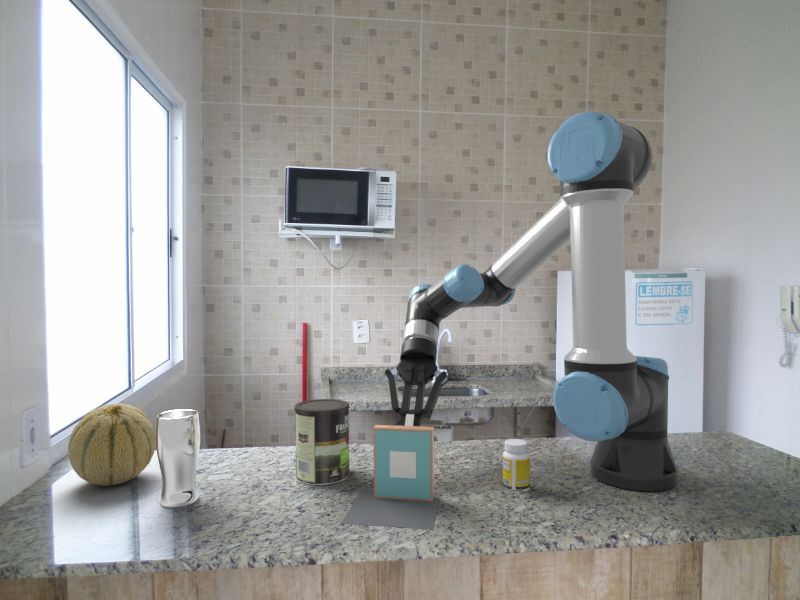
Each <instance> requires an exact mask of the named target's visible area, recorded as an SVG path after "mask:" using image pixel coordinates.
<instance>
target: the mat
mask: <svg viewBox="0 0 800 600" xmlns="http://www.w3.org/2000/svg"><path fill="white" fill-rule="evenodd" d="M441 494H442V492H438V491H434V499H433V501H418V500H402V499H385V498H374V488H367V487H363V488H361V490H360V491H359V493H358V494H357V496H356V498H355V499H354V501H353V502H352V504H351V505H350V507H349V509H348V511H347V512H346V514H345V516H344V517H343V519H342V520H341V522H340V524H343V525H361V526H374V527H375V526H376V527H390V528H404V529H417V530H418V529H419V530H421V529H422V530H431V531H433V529H434V525H435V521H436V518H437V517H436V516H437V512H438V508H439V504H440V499H441V496H442V495H441Z"/></svg>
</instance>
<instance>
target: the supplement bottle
mask: <svg viewBox="0 0 800 600" xmlns="http://www.w3.org/2000/svg"><path fill="white" fill-rule="evenodd" d="M528 448H529V447H528V441H527V440H525V439H519V438H508V439H506V440H504V451H503V452H502V485H503V488H506V489H509V490H513V491H522V493H526V492H528V491H529V490H530V489H531V459H530V454H529V452H528Z"/></svg>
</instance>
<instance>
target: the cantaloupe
mask: <svg viewBox="0 0 800 600" xmlns="http://www.w3.org/2000/svg"><path fill="white" fill-rule="evenodd" d="M67 447H68V448H67V452H68V454H67V455H68V459H69V462H70V466H71V468H72V469H73V471H74V472H75V474H76V475H77V476H78V477H79V478H80V479H82V480H84V481H85V482H87V483H89V484H93V485H95V486H96V485H98V486H105V487H107V486H116V485H119V484H120V485H121V484H123V483H126V482H128V481H130V480H132V479H134V478H136V477H137V476H139V475H140V474H141V473H142V472H143V471H144V470H145V469H146V468H147V467H148V465H149V464H150V462H151V461H152V459H153V456H154V454H155V450H156V430H155V429H154V425H153V422H152V420H151V419H150V417H149V416H148V415H147V414H146V413H145V412H144V411H143V410H141V409H140V408H138V407H135V406H132V405H130V404H127V403H114V404H113V403H112V404H106V405H102V406H99V407H98V408H95V409H93V410H90V411H89V412H87V413H86V414H85V415H84V416H82V418H81V419H80V420H79V422H78V423H77V424H76V425H75V426H74V428H73V430H72V431H71V434H70V435H69V441H68V446H67Z"/></svg>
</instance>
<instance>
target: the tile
mask: <svg viewBox="0 0 800 600" xmlns="http://www.w3.org/2000/svg"><path fill="white" fill-rule="evenodd" d="M434 429H435V427H434V426H399V425H391V424H375V425H374V426H373V489H374V498H385V499H402V500H418V501H433V499H434V492H435V444H434V443H435V438H434V435H435V434H434V432H435V431H434Z"/></svg>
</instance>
